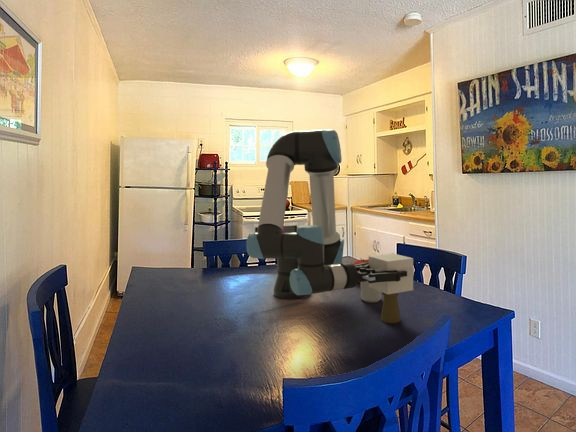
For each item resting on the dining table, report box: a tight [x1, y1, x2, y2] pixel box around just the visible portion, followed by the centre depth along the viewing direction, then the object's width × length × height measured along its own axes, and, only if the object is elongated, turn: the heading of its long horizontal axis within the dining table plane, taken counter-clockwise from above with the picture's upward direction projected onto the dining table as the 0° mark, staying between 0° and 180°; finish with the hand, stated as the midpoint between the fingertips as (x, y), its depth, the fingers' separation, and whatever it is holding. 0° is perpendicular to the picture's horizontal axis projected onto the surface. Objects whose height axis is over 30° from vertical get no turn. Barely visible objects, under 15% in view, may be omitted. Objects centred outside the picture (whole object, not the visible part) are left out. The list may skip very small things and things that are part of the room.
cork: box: [380, 292, 401, 324], centre depth 115 cm, size 6×6×11 cm
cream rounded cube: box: [368, 253, 414, 294], centre depth 114 cm, size 10×10×10 cm
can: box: [360, 281, 382, 303], centre depth 135 cm, size 8×8×12 cm
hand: (401, 268), depth 116 cm, fingers closed on cream rounded cube, 10 cm apart
